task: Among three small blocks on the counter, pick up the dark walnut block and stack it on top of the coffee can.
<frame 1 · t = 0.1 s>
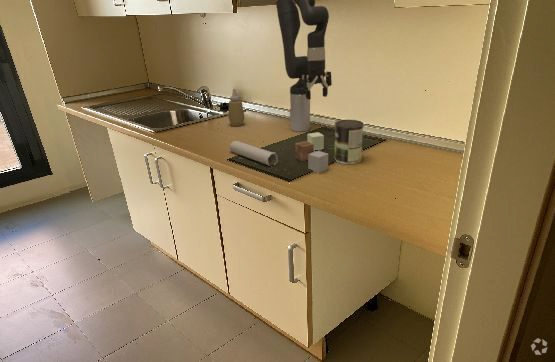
hand: (316, 97, 166), 17 cm above the worktop, tool pointing down, fingers open, 8 cm apart
pale sage block: (315, 148, 157), on the worktop
slate grey block: (318, 169, 137), on the worktop
walnut block: (304, 158, 147), on the worktop
squeeze bottle: (237, 125, 194), on the worktop
tube: (251, 158, 150), on the worktop
coffee can: (347, 159, 145), on the worktop
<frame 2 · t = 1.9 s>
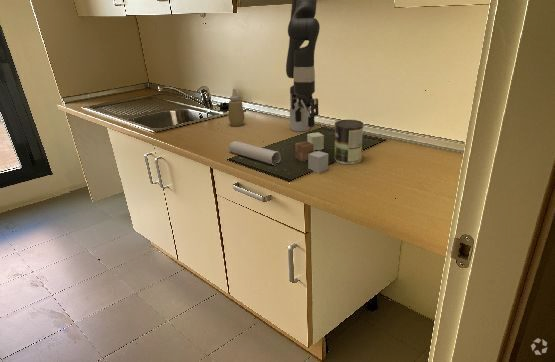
hand: (304, 124, 142), 14 cm above the worktop, tool pointing down, fingers open, 8 cm apart
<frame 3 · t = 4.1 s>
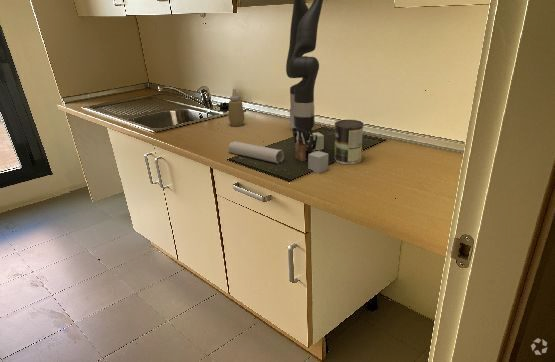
hand: (304, 156, 147), 1 cm above the worktop, tool pointing down, fingers closed on walnut block, 5 cm apart
walnut block: (304, 158, 147), on the worktop, touching gripper
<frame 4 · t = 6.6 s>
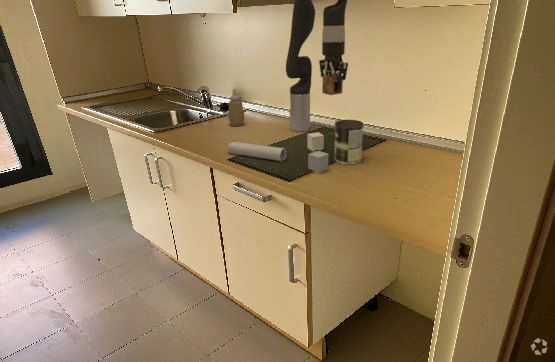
hand: (332, 91, 135), 26 cm above the worktop, tool pointing down, fingers closed on walnut block, 5 cm apart
walnut block: (332, 93, 135), point 25 cm above the worktop, touching gripper
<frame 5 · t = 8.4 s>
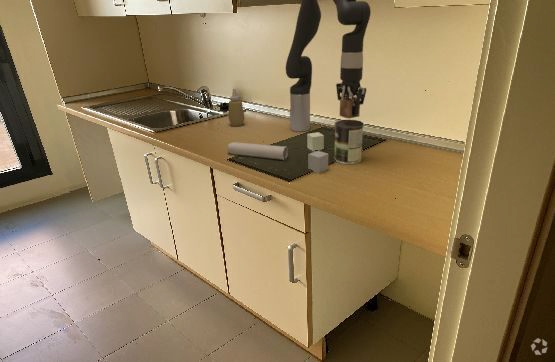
hand: (349, 114, 138), 17 cm above the worktop, tool pointing down, fingers closed on walnut block, 5 cm apart
walnut block: (349, 116, 138), point 17 cm above the worktop, touching gripper
when the fingers open (16 cm above the worktop, at t = 9.5 s): walnut block drops 2 cm, resting on coffee can.
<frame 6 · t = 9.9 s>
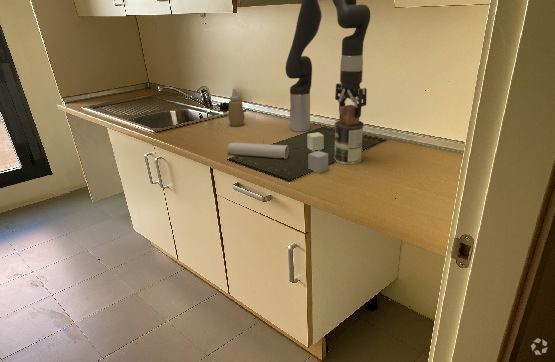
hand: (349, 115, 138), 17 cm above the worktop, tool pointing down, fingers open, 8 cm apart
walnut block: (349, 123, 139), point 14 cm above the worktop, touching coffee can
coffee can: (347, 159, 145), on the worktop, touching walnut block
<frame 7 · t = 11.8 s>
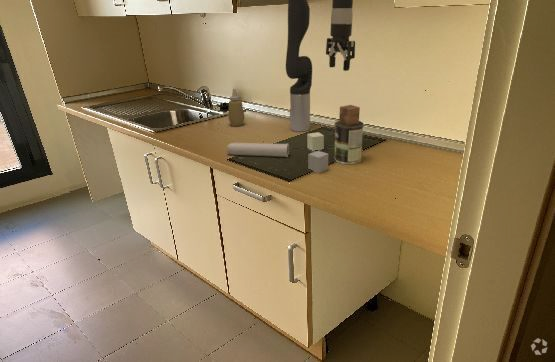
hand: (339, 68, 143), 32 cm above the worktop, tool pointing down, fingers open, 8 cm apart
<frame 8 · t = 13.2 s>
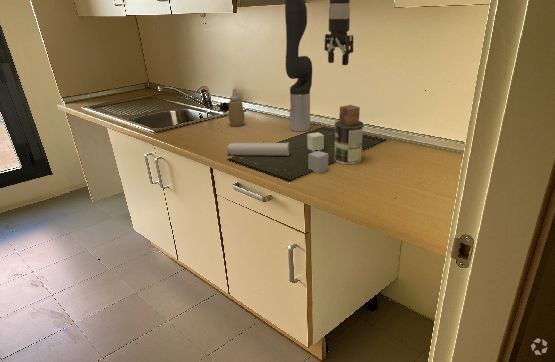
hand: (337, 63, 145), 33 cm above the worktop, tool pointing down, fingers open, 8 cm apart
at the end: walnut block inside the target area on the coffee can (0.1 cm from its centre), point 14.3 cm above the coffee can's base; walnut block tilted 0°; the gripper is holding nothing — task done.
